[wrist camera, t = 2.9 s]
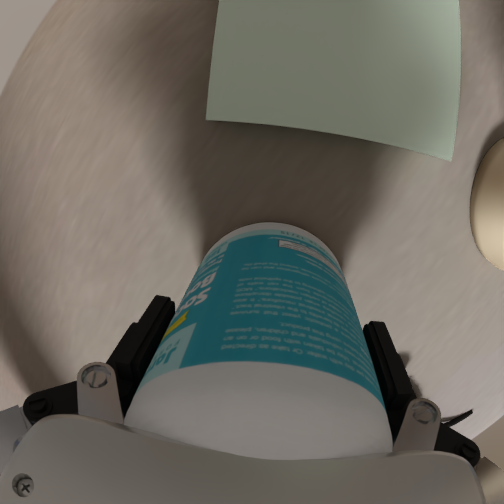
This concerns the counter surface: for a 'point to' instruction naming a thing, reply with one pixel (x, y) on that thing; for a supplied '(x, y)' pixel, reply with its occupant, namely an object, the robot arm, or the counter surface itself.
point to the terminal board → (341, 68)
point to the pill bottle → (266, 356)
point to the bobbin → (489, 206)
